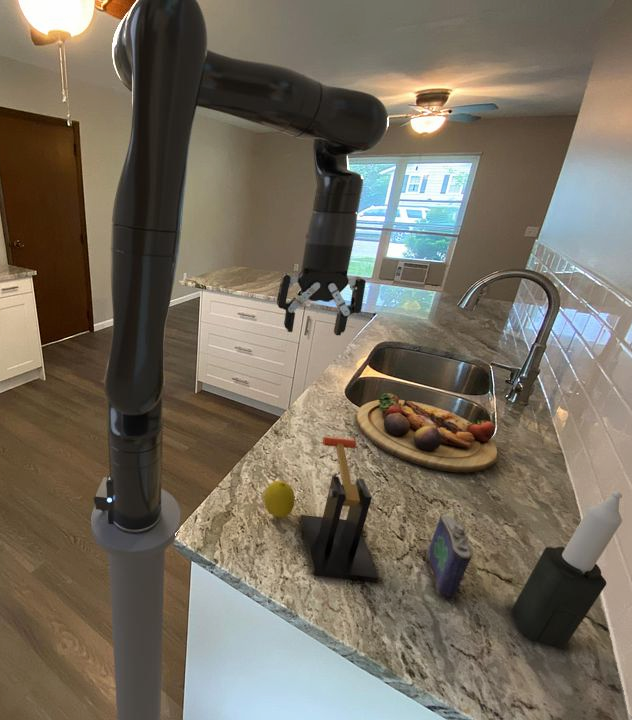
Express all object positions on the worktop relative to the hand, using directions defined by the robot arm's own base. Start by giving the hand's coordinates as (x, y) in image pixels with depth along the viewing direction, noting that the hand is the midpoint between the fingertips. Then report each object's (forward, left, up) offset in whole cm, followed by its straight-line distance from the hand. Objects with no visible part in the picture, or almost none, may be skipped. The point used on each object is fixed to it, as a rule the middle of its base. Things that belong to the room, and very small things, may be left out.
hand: (313, 332), depth 71 cm
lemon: (-3, -11, -34) cm, 36 cm away
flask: (+22, -20, -34) cm, 45 cm away
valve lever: (+6, -12, -21) cm, 25 cm away
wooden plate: (+38, +24, -34) cm, 57 cm away
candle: (+32, -27, -34) cm, 54 cm away
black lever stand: (+6, -17, -34) cm, 39 cm away
